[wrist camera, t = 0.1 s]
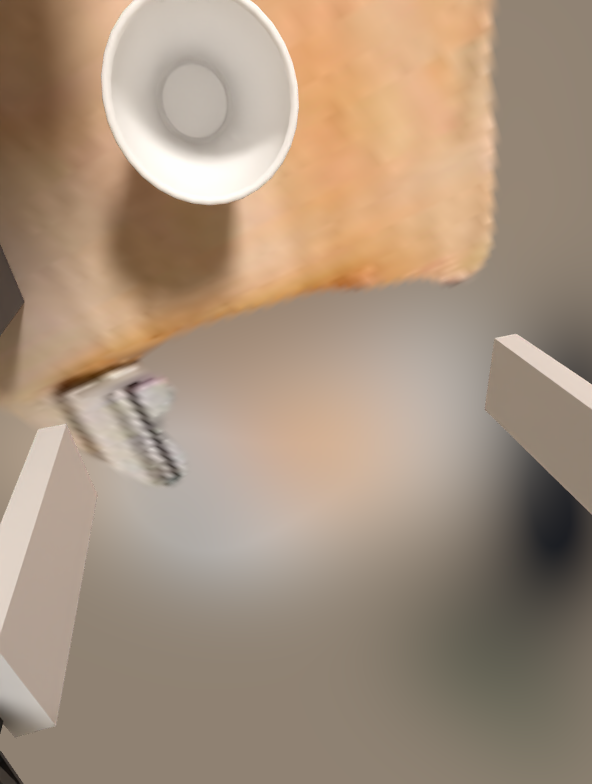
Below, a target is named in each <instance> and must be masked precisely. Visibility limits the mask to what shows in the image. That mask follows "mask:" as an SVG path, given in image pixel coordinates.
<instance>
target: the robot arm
mask: <svg viewBox="0 0 592 784" xmlns="http://www.w3.org/2000/svg"><path fill="white" fill-rule="evenodd" d="M485 410H486V411H487V412H488V413H489V414H490V415H491V416H492V417H493V418H494V419H495V420H496V421H497V422H498V423H499V424H500V425H501V426H502V427H503V428H504V429H505V430H506V431H507V432H508V433H509V434H510V435H511V436H512V437H513V438H514V439H515V440H516V441H517V442H518V443H520V444H521V446H523V447H524V448H525V449H526V450H527V451H528V452H529V453H530V454H531V455H532V456H533V457H534V458H535V459H536V460H537V461H538V462H539V463H540V464H541V465H542V466H543V467H544V468H545V469H546V470H547V471H548V472H549V473H550V474H551V475H552V476H553V477H554V478H555V479H556V480H557V481H558V482H559V483H560V484H561V485H562V486H563V487H564V488H565V489H566V490H567V491H568V492H570V493H571V494H572V495H573V496H574V497H575V498H576V499H577V500H578V501H579V502H580V503H581V504H582V505H583V506H584V507H585V508H586V509H587V510H588V511H589V512H590V513H591V514H592V384H590V383H589V382H587V381H586V380H584V379H583V378H581V377H580V376H578V375H577V374H575V373H574V372H572V371H571V370H569V369H568V368H566V367H565V366H563V365H562V364H560V363H559V362H557V361H556V360H554V359H553V358H551V357H550V356H549V355H547V354H546V353H544V352H543V351H541V350H540V349H538V348H537V347H535V346H534V345H532V344H531V343H529V342H528V341H526V340H525V339H523V338H522V337H520V336H519V335H517V334H513V335H508V336H503V337H498V338H494V345H493V353H492V360H491V367H490V374H489V382H488V389H487V396H486V403H485ZM96 501H97V493H96V490H95V488H94V486H93V483H92V481H91V479H90V476H89V474H88V472H87V469H86V467H85V465H84V463H83V460H82V458H81V456H80V453H79V451H78V449H77V446H76V444H75V442H74V440H73V437H72V435H71V433H70V430H69V428H68V426H67V424H62V425H57V426H52V427H47V428H42V429H38V431H37V433H36V436H35V438H34V441H33V443H32V446H31V448H30V451H29V453H28V456H27V459H26V461H25V464H24V466H23V469H22V471H21V474H20V476H19V479H18V481H17V484H16V486H15V489H14V491H13V494H12V496H11V499H10V501H9V504H8V507H7V509H6V511H5V514H4V516H3V519H2V521H1V525H0V732H1V728H2V725H3V724H4V725H5V726H6V728H7V729H8V730H9V731H10V732H11V733H12V735H13V736H14V737H18V736H22V735H26V734H29V733H32V732H36V731H40V730H43V729H47V728H50V727H54V726H56V723H57V718H58V712H59V706H60V701H61V695H62V690H63V684H64V679H65V673H66V668H67V662H68V656H69V651H70V645H71V640H72V634H73V629H74V623H75V618H76V612H77V606H78V601H79V595H80V590H81V584H82V579H83V573H84V568H85V562H86V556H87V551H88V545H89V540H90V534H91V529H92V523H93V517H94V512H95V506H96ZM0 784H23V782H22V781H21V779H20V778H19V777H18V775H17V774H16V772H15V771H14V769H13V768H12V766H11V765H10V764H9V762H8V761H7V759H6V758H5V756H4V755H3V753H2V752H1V751H0Z"/></svg>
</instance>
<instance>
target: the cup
mask: <svg viewBox="0 0 592 784" xmlns="http://www.w3.org/2000/svg"><path fill="white" fill-rule="evenodd" d="M101 83H102V100H103V104H104V108H105V112H106V117H107V121H108V124H109V126H110V128H111V131H112V133H113V136H114V138H115V140H116V143H117V144H118V146H119V148H120V149H121V151H122V152H123V154H124V155H125V157H126V159H127V160H128V162H129V163H130V164H131V165H132V166H133V167H134V168H135V169H136V171H137V172H138V173H139V174H140V175H141V176H142V177H143V178H144V179H146V180H147V181H148V182H149V183H151V184H152V185H153V186H154V187H156V188H157V189H158V190H160V191H162V192H164V193H166V194H168V195H170V196H172V197H173V198H176V199H179V200H182V201H186V202H189V203H192V204H201V205H218V204H227V203H230V202H233V201H236V200H240V199H243V198H245V197H246V196H248V195H250V194H252V193H253V192H255V191H257V190H258V189H260V188H261V187H262V186H263V185H264V184H265V183H266V182H267V181H269V180H270V179H271V178H272V176H273V175H274V174H275V173H276V171H277V170H278V169H279V167H280V166H281V165H282V163H283V161H284V159H285V157H286V155H287V153H288V151H289V149H290V147H291V144H292V141H293V137H294V134H295V130H296V126H297V118H298V109H299V103H298V85H297V80H296V76H295V71H294V66H293V63H292V60H291V58H290V55H289V53H288V50H287V47H286V45H285V43H284V41H283V39H282V38H281V36H280V34H279V33H278V31H277V29H276V28H275V26H274V24H273V23H272V22H271V21H270V19H269V18H268V17H267V16H266V15H265V14H264V13H263V12H262V10H261V9H260V8H259V7H258V6H257V5H256V4H254V3H253V2H252V1H250V0H134V1H133V2H132V3H131V4H130V5H129V6H128V7H127V8H126V9H125V10H124V11H123V12H122V14H121V15H120V17H119V19H118V21H117V22H116V24H115V26H114V27H113V29H112V31H111V33H110V36H109V39H108V42H107V45H106V48H105V51H104V57H103V65H102V72H101Z"/></svg>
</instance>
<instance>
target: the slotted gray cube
mask: <svg viewBox="0 0 592 784" xmlns="http://www.w3.org/2000/svg"><path fill="white" fill-rule="evenodd" d="M23 303H24V300H23V297H22V295H21V293H20V290H19V288H18V285H17V283H16V281H15V278H14V276H13V273H12V271H11V269H10V266H9V264H8V262H7V259H6V257H5V254H4V252H3V250H2V247H1V245H0V335H1V334H2V333H3V331H4V330H5V328H6V327H7V326H8V324H9V323H10V321H11V320H12V319H13V317H14V316H15V314H16V313H17V312H18V310H19V309H20V307H21V306H22V305H23Z"/></svg>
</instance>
